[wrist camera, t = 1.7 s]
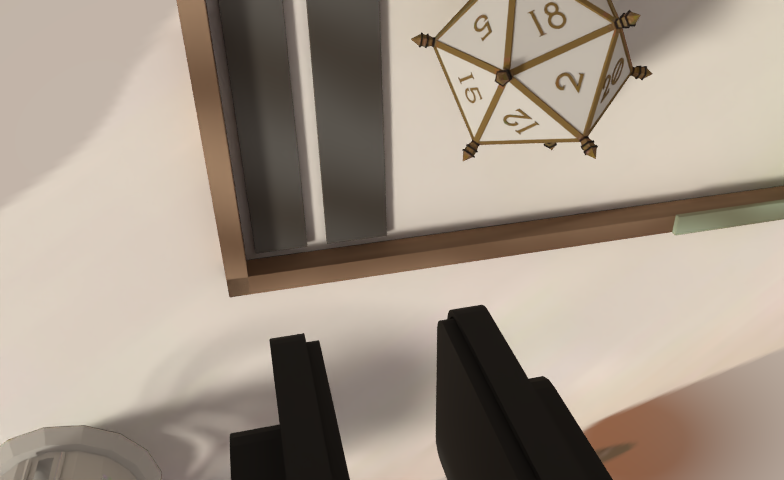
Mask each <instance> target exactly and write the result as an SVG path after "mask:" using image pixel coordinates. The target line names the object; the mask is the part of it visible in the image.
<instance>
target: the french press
mask: <svg viewBox="0 0 784 480" xmlns="http://www.w3.org/2000/svg"><path fill="white" fill-rule="evenodd" d="M0 480H161V471H160V469H159V468H158V466H157V465H156V463H155V462H154V460H153V459H152V457H151V455H150V454H149V452H148V451H147V450H146V449H144V448H143V447H141V446H139V445H138V444H136V443H134V442H133V441H131V440H129V439H128V438H126V437H124V436H123V435H121V434H119V433H114V432H110V431H105V430H101V429H97V428H92V427H88V426H66V427H47V428H41V429H39V430H36V431H33V432H30V433H27V434H24V435H21V436H18V437H15V438H12V439H9V440H7V441H6V442H5V443H4V444H2V445H1V446H0Z"/></svg>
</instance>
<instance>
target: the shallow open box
mask: <svg viewBox="0 0 784 480" xmlns="http://www.w3.org/2000/svg"><path fill="white" fill-rule="evenodd" d="M218 1H219V8H220V14H221V21H222V28H223V35H224V41H225V48H226V55H227V62H228V68H229V75H230V82H231V89H232V95H233V102H234V109H235V116H236V122H237V129H238V136H239V143H240V149H241V156H242V163H243V170H244V176H245V183H246V190H247V197H248V203H249V210H250V217H251V224H252V231H253V237H254V244H255V251H256V253H263V252H270V251H277V250H285V249H292V248H299V247H306V246H307V238H306V229H305V219H304V209H303V199H302V189H301V179H300V170H299V160H298V150H297V140H296V130H295V121H294V111H293V101H292V91H291V81H290V71H289V62H288V52H287V42H286V32H285V22H284V13H283V3H282V0H218ZM306 2H307V14H308V26H309V38H310V50H311V62H312V73H313V85H314V97H315V109H316V121H317V133H318V145H319V156H320V168H321V180H322V192H323V204H324V216H325V227H326V239H327V244H328V243H336V242H343V241H350V240H357V239H365V238H372V237H379V236H387V228H386V197H385V165H384V133H383V102H382V70H381V38H380V7H379V0H306ZM177 6H178V11H179V17H180V22H181V28H182V34H183V39H184V45H185V50H186V56H187V62H188V67H189V73H190V79H191V84H192V90H193V95H194V101H195V107H196V112H197V118H198V123H199V129H200V135H201V140H202V146H203V151H204V157H205V163H206V168H207V174H208V179H209V185H210V191H211V196H212V202H213V207H214V213H215V219H216V224H217V230H218V236H219V241H220V247H221V252H222V258H223V264H224V269H225V275H226V280H227V286H228V292H229V297H235V296H242V295H249V294H255V293H262V292H269V291H276V290H282V289H289V288H296V287H303V286H310V285H316V284H323V283H330V282H337V281H343V280H350V279H357V278H364V277H370V276H377V275H384V274H391V273H397V272H404V271H411V270H418V269H425V268H431V267H438V266H445V265H452V264H458V263H465V262H472V261H479V260H485V259H492V258H499V257H506V256H512V255H519V254H526V253H533V252H540V251H546V250H553V249H560V248H567V247H573V246H580V245H587V244H594V243H600V242H607V241H614V240H621V239H627V238H634V237H641V236H648V235H655V234H661V233H668V232H672V233H673V234H674V235H681V234H688V233H695V232H701V231H708V230H715V229H722V228H728V227H735V226H742V225H748V224H755V223H762V222H769V221H775V220H782V219H784V186H779V187H772V188H765V189H757V190H750V191H743V192H736V193H729V194H721V195H714V196H707V197H700V198H693V199H685V200H678V201H671V202H664V203H657V204H649V205H642V206H635V207H628V208H620V209H613V210H606V211H599V212H592V213H584V214H577V215H570V216H563V217H556V218H548V219H541V220H534V221H527V222H520V223H512V224H505V225H498V226H491V227H484V228H476V229H469V230H462V231H455V232H447V233H440V234H433V235H426V236H419V237H411V238H404V239H397V240H390V241H383V242H375V243H368V244H361V245H354V246H347V247H339V248H332V249H325V250H318V251H310V252H303V253H296V254H289V255H282V256H274V257H267V258H260V259H253V260H246V254H245V248H244V241H243V235H242V228H241V222H240V216H239V209H238V203H237V197H236V190H235V184H234V178H233V171H232V165H231V159H230V152H229V146H228V139H227V133H226V127H225V120H224V114H223V108H222V101H221V95H220V89H219V82H218V76H217V70H216V63H215V57H214V50H213V44H212V38H211V31H210V25H209V19H208V12H207V6H206V0H177Z"/></svg>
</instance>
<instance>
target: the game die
mask: <svg viewBox="0 0 784 480" xmlns="http://www.w3.org/2000/svg"><path fill="white" fill-rule="evenodd" d="M639 17H640V15H639V14H636V13H633V12H631V11H630V10H629V11H628V12H627V13H626V14H625V13H623V14H622V15H621V17H620V18H619V17H618V15H617V12H616V10H615V8H614V6H613V3H612V1H611V0H469V1H468V2H467V3H466V4H465V5H464V7H463V8H462V9H461V10H460V11H459V12H458V13H457V14H456V15H455V16H454V17H453V18H452V19H451V21H450V22H449V23H448V24H447V25H446V26H445V27H444V28H443V29H442V30H441V31H440V32H439V33H438V35H437V36H436V37H433V38H432V37H431V36H429V34H427V35H424V34H423V33H421V34H420V35H418V36H416V37H414V38H412V39H411V40H412V41H414V42H415V43H416V44H417V45H419V47H421V46H424V47H425V48H427V47H428V46H432V47H433V48H434V50H435V52H436V55H437V57H438V59H439V62H440V64H441V67H442V69H443V71H444V74H445V76H446V78H447V81H448V83H449V86H450V88H451V90H452V93H453V95H454V97H455V100H456V102H457V105H458V107H459V109H460V112H461V114H462V116H463V119H464V121H465V124H466V126H467V128H468V131H469V133H470V136H471V138H472V142H471V143H469V144H467V145H466V146H467V147H466V148H465V149H463V161H465V160H467V159H469V158H472V157H475V156H474V155H475V153H476V152H478V151H477V148H478V146H479V145H490V144H523V143H545V144H544V146H546V147H548V148H550V149H551V150H552V149H553V148H554V147H555V146H556V145H557V144H556V142H581V145H582V146H581V148H582V150H584V154H585V155H589V156H591V157H593V158H595V159H596V148H597V147H598V146H597V145H595V144H594V140H593V141H592V140H590V139H589V137H588V135H589V134H590V133H591V131H592V130H593V128H594V127H595V125H596V124H597V122H598V121H599V120H600V118H601V117H602V115H603V114H604V112H605V111H606V110H607V108H608V107H609V105H610V104H611V102H612V101H613V99H614V98H615V97H616V95H617V94H618V92H619V91H620V89H621V88H622V86H623V85H624V84H625V82H626V81H627V79H628V78H629V76H634V77H635V79H637V78H640V79H641V80H643V79H644V78H645V77H647V76H650V75H652V73H651V72H650V71H649V70H648V69H647V66H644V67H641V66H636V67H633V66H632V62H631V59H630V55H629V51H628V47H627V44H626V40H625V36H624V32H623V29H622V28H630V26H635V25H636V22H637V20H638V19H639Z"/></svg>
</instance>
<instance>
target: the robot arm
mask: <svg viewBox="0 0 784 480" xmlns="http://www.w3.org/2000/svg"><path fill="white" fill-rule="evenodd" d="M270 348H271V356H272V364H273V373H274V381H275V389H276V398H277V406H278V414H279V422H280V425H275V426H269V427H264V428H258V429H253V430H248V431H242V432H237V433H231V434H230V464H231V480H350V479H349V474H348V469H347V465H346V460H345V456H344V451H343V447H342V442H341V438H340V433H339V428H338V424H337V419H336V415H335V410H334V406H333V401H332V397H331V392H330V388H329V383H328V378H327V374H326V369H325V365H324V360H323V356H322V351H321V347H320V342H319V340H318V341H312V342H306V340H305V335H304V333H303V334H297V335H291V336H285V337H278V338H272V339H270ZM436 445H437V450H438V455H439V458H440V461H441V464H442V467H443V469H444V472H445V475H446V477H447V480H613V479H612V478H611V476H610V475H609V473H608V471H607V470H606V468H605V467H604V465H603V463H602V462H601V460H600V459H599V457H598V455H597V454H596V452H595V451H594V449H593V448H592V446H591V444H590V443H589V441H588V440H587V438H586V436H585V435H584V433H583V432H582V430H581V429H580V427H579V425H578V424H577V422H576V421H575V419H574V417H573V416H572V414H571V413H570V411H569V409H568V408H567V406H566V405H565V403H564V402H563V400H562V398H561V397H560V395H559V394H558V392H557V390H556V389H555V387H554V386H553V385H552V383H551V382H550V381H549V380H548V379H547V378H545V377H544V376H541V377H536V378H530V379H528V377H527V376H526V374H525V372H524V370H523V369H522V367H521V365H520V364H519V362H518V360H517V359H516V357H515V355H514V354H513V352H512V350H511V349H510V347H509V345H508V343H507V342H506V340H505V338H504V337H503V335H502V333H501V332H500V330H499V328H498V327H497V325H496V323H495V322H494V320H493V318H492V316H491V315H490V313H489V311H488V310H487V308H486V307H485V306H484V305H478V306H472V307H465V308H459V309H453V310H450V311H449V313H448V318H447V320H441V321H439V322H438V326H437V386H436Z"/></svg>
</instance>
